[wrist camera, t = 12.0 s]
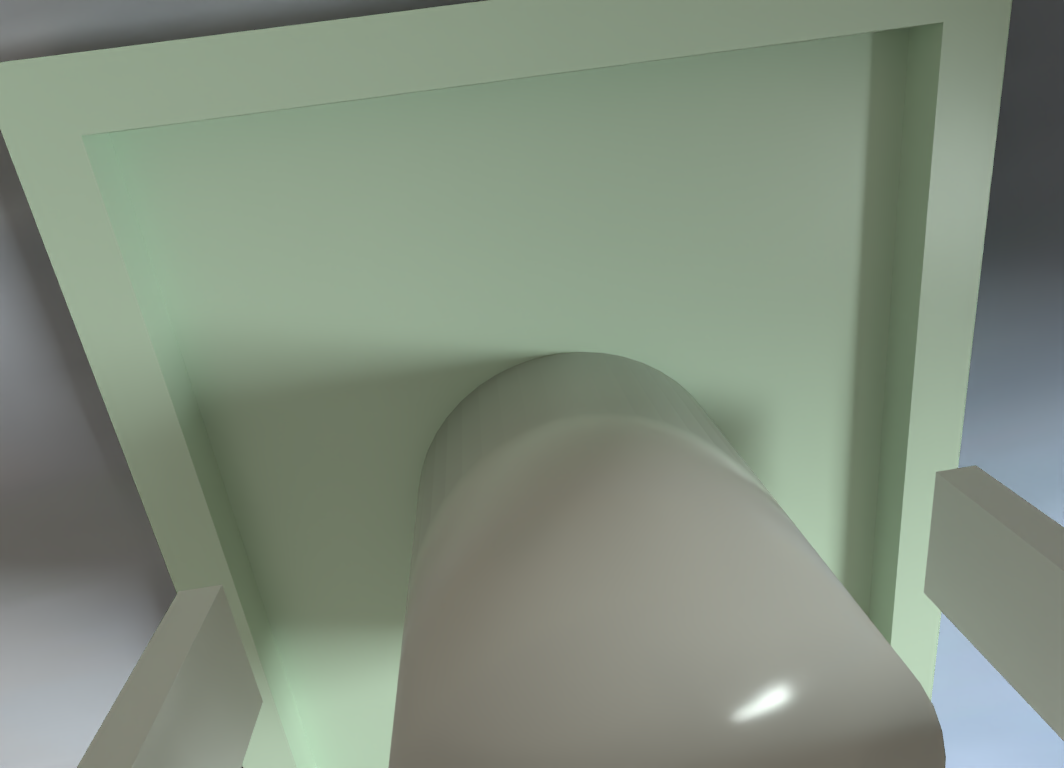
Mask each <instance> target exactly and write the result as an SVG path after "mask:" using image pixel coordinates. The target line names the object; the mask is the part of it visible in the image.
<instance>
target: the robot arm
mask: <svg viewBox="0 0 1064 768" xmlns="http://www.w3.org/2000/svg"><path fill="white" fill-rule="evenodd" d="M924 594H925V595H926V596H927V597H928V598H929V599H930V600H931V601H932V602H933V603H934V604H935V605H936V606H937V607H938V608H939V609H940V610H941V612H942V613H943V614H944V615H945V616H946V617H947V618H948V619H949V620H950V621H951V622H952V623H953V624H954V625H955V626H956V627H957V629H958V630H959V631H960V632H961V633H962V634H963V635H964V636H965V637H966V638H967V639H968V640H969V641H970V642H971V643H972V644H973V645H974V647H975V648H976V649H977V650H978V651H979V652H980V653H981V654H982V655H983V656H984V657H985V658H986V659H987V660H988V661H989V662H990V663H991V665H992V666H993V667H994V668H995V669H996V670H997V671H998V672H999V673H1000V674H1001V675H1002V676H1003V677H1004V678H1005V679H1006V680H1007V682H1008V683H1009V684H1010V685H1011V686H1012V687H1013V688H1014V689H1015V690H1016V691H1017V692H1018V693H1019V694H1020V695H1021V696H1022V697H1023V698H1024V700H1025V701H1026V702H1027V703H1028V704H1029V705H1030V706H1031V707H1032V708H1033V709H1034V710H1035V711H1036V712H1037V713H1038V714H1039V715H1040V716H1041V718H1042V719H1043V720H1044V721H1045V722H1046V723H1047V724H1048V725H1049V726H1050V727H1051V728H1052V729H1053V730H1054V731H1055V732H1056V733H1057V735H1058V736H1059V737H1060V738H1061V739H1062V740H1063V741H1064V527H1062V526H1061V525H1060V524H1058V523H1057V522H1055V521H1054V520H1053V519H1051V518H1050V517H1048V516H1047V515H1045V514H1044V513H1043V512H1041V511H1040V510H1038V509H1037V508H1036V507H1034V506H1033V505H1031V504H1030V503H1028V502H1027V501H1026V500H1024V499H1023V498H1021V497H1020V496H1019V495H1017V494H1016V493H1014V492H1013V491H1011V490H1010V489H1009V488H1007V487H1006V486H1004V485H1003V484H1002V483H1000V482H999V481H997V480H996V479H994V478H993V477H992V476H990V475H989V474H987V473H986V472H985V471H983V470H982V469H980V468H979V467H977V466H969V467H963V468H957V469H950V470H944V471H938V472H936V477H935V487H934V497H933V506H932V516H931V526H930V535H929V545H928V555H927V564H926V574H925V584H924ZM262 703H263V700H262V697H261V695H260V692H259V689H258V686H257V683H256V680H255V677H254V675H253V672H252V669H251V666H250V663H249V660H248V657H247V654H246V652H245V649H244V646H243V643H242V640H241V637H240V634H239V632H238V629H237V626H236V623H235V620H234V617H233V614H232V612H231V609H230V606H229V603H228V600H227V597H226V594H225V592H224V589H223V586H222V585H216V586H209V587H203V588H197V589H190V590H184V591H178V593H177V595H176V597H175V598H174V600H173V602H172V604H171V605H170V607H169V609H168V610H167V612H166V614H165V616H164V617H163V619H162V621H161V623H160V624H159V626H158V628H157V630H156V631H155V633H154V635H153V636H152V638H151V640H150V642H149V643H148V645H147V647H146V649H145V650H144V652H143V654H142V656H141V657H140V659H139V661H138V662H137V664H136V666H135V668H134V669H133V671H132V673H131V675H130V676H129V678H128V680H127V682H126V683H125V685H124V687H123V688H122V690H121V692H120V694H119V695H118V697H117V699H116V701H115V702H114V704H113V706H112V708H111V709H110V711H109V713H108V714H107V716H106V718H105V720H104V721H103V723H102V725H101V727H100V728H99V730H98V732H97V734H96V735H95V737H94V739H93V741H92V742H91V744H90V746H89V747H88V749H87V751H86V753H85V754H84V756H83V758H82V760H81V761H80V763H79V765H78V767H77V768H241V766H242V763H243V760H244V757H245V754H246V751H247V748H248V745H249V742H250V739H251V736H252V733H253V730H254V727H255V724H256V721H257V718H258V715H259V712H260V709H261V706H262Z"/></svg>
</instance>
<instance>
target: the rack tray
mask: <svg viewBox="0 0 1064 768" xmlns="http://www.w3.org/2000/svg"><path fill="white" fill-rule="evenodd" d="M1011 7H1012V0H486V1H478V2H471V3H463V4H455V5H447V6H439V7H431V8H423V9H415V10H408V11H400V12H392V13H384V14H376V15H368V16H360V17H352V18H345V19H337V20H329V21H321V22H313V23H305V24H297V25H289V26H282V27H274V28H266V29H258V30H250V31H242V32H234V33H226V34H219V35H211V36H203V37H195V38H187V39H179V40H171V41H163V42H156V43H148V44H140V45H132V46H124V47H116V48H108V49H100V50H93V51H85V52H77V53H69V54H61V55H53V56H45V57H37V58H30V59H22V60H14V61H6V62H0V130H1V133H2V135H3V138H4V141H5V143H6V146H7V148H8V151H9V154H10V156H11V159H12V162H13V164H14V167H15V169H16V172H17V175H18V177H19V180H20V183H21V185H22V188H23V190H24V193H25V196H26V198H27V201H28V204H29V206H30V209H31V212H32V214H33V217H34V219H35V222H36V225H37V227H38V230H39V233H40V235H41V238H42V240H43V243H44V246H45V248H46V251H47V254H48V256H49V259H50V261H51V264H52V267H53V269H54V272H55V275H56V277H57V280H58V282H59V285H60V288H61V290H62V293H63V296H64V298H65V301H66V303H67V306H68V309H69V311H70V314H71V317H72V319H73V322H74V324H75V327H76V330H77V332H78V335H79V338H80V340H81V343H82V346H83V348H84V351H85V353H86V356H87V359H88V361H89V364H90V367H91V369H92V372H93V374H94V377H95V380H96V382H97V385H98V388H99V390H100V393H101V395H102V398H103V401H104V403H105V406H106V409H107V411H108V414H109V416H110V419H111V422H112V424H113V427H114V430H115V432H116V435H117V437H118V440H119V443H120V445H121V448H122V451H123V453H124V456H125V458H126V461H127V464H128V466H129V469H130V472H131V474H132V477H133V480H134V482H135V485H136V487H137V490H138V493H139V495H140V498H141V501H142V503H143V506H144V508H145V511H146V514H147V516H148V519H149V522H150V524H151V527H152V529H153V532H154V535H155V537H156V540H157V543H158V545H159V548H160V550H161V553H162V556H163V558H164V561H165V564H166V566H167V569H168V571H169V574H170V577H171V579H172V582H173V585H174V587H175V590H176V592H177V593H178V591H184V590H190V589H197V588H203V587H209V586H216V585H222V586H223V589H224V592H225V594H226V597H227V600H228V603H229V606H230V609H231V612H232V614H233V617H234V620H235V623H236V626H237V629H238V632H239V634H240V637H241V640H242V643H243V646H244V649H245V652H246V654H247V657H248V660H249V663H250V666H251V669H252V672H253V675H254V677H255V680H256V683H257V686H258V689H259V692H260V695H261V697H262V700H263V703H262V706H261V709H260V712H259V715H258V718H257V721H256V724H255V727H254V730H253V733H252V736H251V739H250V742H249V745H248V748H247V751H246V754H245V757H244V760H243V763H242V766H243V768H388V767H389V757H390V748H391V739H392V730H393V720H394V711H395V702H396V693H397V684H398V674H399V665H400V656H401V647H402V638H403V628H404V619H405V610H406V601H407V592H408V582H409V573H410V564H411V555H412V545H413V536H414V527H415V518H416V509H417V499H418V490H419V483H420V477H421V471H422V467H423V464H424V460H425V457H426V454H427V451H428V449H429V447H430V445H431V443H432V441H433V439H434V437H435V435H436V433H437V431H438V430H439V428H440V427H441V425H442V424H443V422H444V421H445V419H446V418H447V416H448V415H449V414H450V413H451V412H452V411H453V410H454V409H455V407H456V406H457V405H458V404H459V403H460V402H461V401H462V400H463V399H464V398H465V397H466V396H468V395H469V394H470V393H471V392H472V391H473V390H475V389H476V388H477V387H478V386H480V385H481V384H483V383H484V382H486V381H487V380H489V379H490V378H492V377H493V376H495V375H497V374H499V373H501V372H503V371H505V370H507V369H509V368H511V367H513V366H515V365H518V364H521V363H524V362H527V361H530V360H532V359H535V358H539V357H544V356H549V355H554V354H559V353H571V352H597V353H606V354H612V355H618V356H623V357H626V358H629V359H633V360H636V361H639V362H642V363H644V364H646V365H649V366H651V367H653V368H655V369H657V370H659V371H661V372H663V373H664V374H666V375H667V376H669V377H670V378H672V379H673V380H675V381H677V382H678V383H679V384H680V385H681V386H682V387H683V388H685V389H686V390H687V391H688V392H689V393H690V394H691V395H692V396H693V397H694V398H695V400H696V401H697V402H698V403H699V404H700V405H701V407H702V408H703V409H704V410H705V412H706V413H707V414H708V415H709V417H710V418H711V419H712V420H713V422H714V423H715V424H716V425H717V427H718V428H719V429H720V430H721V432H722V433H723V434H724V436H725V437H726V438H727V439H728V441H729V442H730V443H731V444H732V446H733V447H734V448H735V449H736V451H737V452H738V453H739V455H740V456H741V457H742V458H743V460H744V461H745V462H746V463H747V465H748V466H749V467H750V468H751V470H752V471H753V472H754V473H755V475H756V476H757V477H758V479H759V480H760V481H761V482H762V484H763V485H764V486H765V487H766V489H767V490H768V491H769V492H770V494H771V495H772V496H773V497H774V499H775V500H776V501H777V503H778V504H779V505H780V506H781V508H782V509H783V510H784V511H785V513H786V514H787V515H788V516H789V518H790V519H791V520H792V521H793V523H794V524H795V525H796V527H797V528H798V529H799V530H800V532H801V533H802V534H803V535H804V537H805V538H806V539H807V540H808V542H809V543H810V544H811V545H812V547H813V548H814V549H815V551H816V552H817V553H818V554H819V556H820V557H821V558H822V559H823V561H824V562H825V563H826V564H827V566H828V567H829V568H830V569H831V571H832V572H833V573H834V575H835V576H836V577H837V578H838V580H839V581H840V582H841V583H842V585H843V586H844V587H845V588H846V590H847V591H848V592H849V594H850V595H851V596H852V597H853V599H854V600H855V601H856V602H857V604H858V605H859V606H860V607H861V609H862V610H863V611H864V612H865V614H866V615H867V616H868V618H869V619H870V620H871V621H872V623H873V624H874V625H875V626H876V628H877V629H878V630H879V631H880V633H881V634H882V635H883V636H884V638H885V639H886V640H887V642H888V643H889V644H890V645H891V647H892V648H893V649H894V650H895V652H896V653H897V654H898V655H899V657H900V658H901V659H902V660H903V662H904V663H905V664H906V666H907V667H908V668H909V669H910V671H911V672H912V673H913V674H914V676H915V677H916V678H917V679H918V681H919V682H920V684H921V685H922V687H923V689H924V690H925V692H926V694H927V696H928V697H929V699H930V701H931V697H932V688H933V679H934V671H935V662H936V653H937V645H938V636H939V628H940V619H941V610H940V609H939V608H938V607H937V606H936V605H935V604H934V603H933V602H932V601H931V600H930V599H929V598H928V597H927V596H926V595H925V594H924V584H925V574H926V564H927V555H928V545H929V535H930V526H931V516H932V506H933V497H934V487H935V477H936V472H938V471H944V470H950V469H957V468H958V464H959V455H960V447H961V438H962V429H963V421H964V412H965V404H966V395H967V386H968V378H969V369H970V360H971V352H972V343H973V335H974V326H975V317H976V309H977V300H978V292H979V283H980V274H981V266H982V257H983V248H984V240H985V231H986V223H987V214H988V205H989V197H990V188H991V179H992V171H993V162H994V154H995V145H996V136H997V128H998V119H999V111H1000V102H1001V93H1002V85H1003V76H1004V67H1005V59H1006V50H1007V42H1008V33H1009V24H1010V16H1011Z"/></svg>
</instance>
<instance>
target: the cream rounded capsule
mask: <svg viewBox="0 0 1064 768" xmlns="http://www.w3.org/2000/svg"><path fill="white" fill-rule="evenodd" d="M945 760H946V756H945V748H944V741H943V734H942V729H941V726H940V724H939V721H938V718H937V715H936V712H935V709H934V706H933V704H932V703H931V701H930V699H929V697H928V696H927V694H926V692H925V690H924V689H923V687H922V685H921V684H920V682H919V681H918V679H917V678H916V677H915V676H914V674H913V673H912V672H911V671H910V669H909V668H908V667H907V666H906V664H905V663H904V662H903V660H902V659H901V658H900V657H899V655H898V654H897V653H896V652H895V650H894V649H893V648H892V647H891V645H890V644H889V643H888V642H887V640H886V639H885V638H884V636H883V635H882V634H881V633H880V631H879V630H878V629H877V628H876V626H875V625H874V624H873V623H872V621H871V620H870V619H869V618H868V616H867V615H866V614H865V612H864V611H863V610H862V609H861V607H860V606H859V605H858V604H857V602H856V601H855V600H854V599H853V597H852V596H851V595H850V594H849V592H848V591H847V590H846V588H845V587H844V586H843V585H842V583H841V582H840V581H839V580H838V578H837V577H836V576H835V575H834V573H833V572H832V571H831V569H830V568H829V567H828V566H827V564H826V563H825V562H824V561H823V559H822V558H821V557H820V556H819V554H818V553H817V552H816V551H815V549H814V548H813V547H812V545H811V544H810V543H809V542H808V540H807V539H806V538H805V537H804V535H803V534H802V533H801V532H800V530H799V529H798V528H797V527H796V525H795V524H794V523H793V521H792V520H791V519H790V518H789V516H788V515H787V514H786V513H785V511H784V510H783V509H782V508H781V506H780V505H779V504H778V503H777V501H776V500H775V499H774V497H773V496H772V495H771V494H770V492H769V491H768V490H767V489H766V487H765V486H764V485H763V484H762V482H761V481H760V480H759V479H758V477H757V476H756V475H755V473H754V472H753V471H752V470H751V468H750V467H749V466H748V465H747V463H746V462H745V461H744V460H743V458H742V457H741V456H740V455H739V453H738V452H737V451H736V449H735V448H734V447H733V446H732V444H731V443H730V442H729V441H728V439H727V438H726V437H725V436H724V434H723V433H722V432H721V430H720V429H719V428H718V427H717V425H716V424H715V423H714V422H713V420H712V419H711V418H710V417H709V415H708V414H707V413H706V412H705V410H704V409H703V408H702V407H701V405H700V404H699V403H698V402H697V401H696V400H695V398H694V397H693V396H692V395H691V394H690V393H689V392H688V391H687V390H686V389H685V388H683V387H682V386H681V385H680V384H679V383H678V382H677V381H675V380H673V379H672V378H670V377H669V376H667V375H666V374H664V373H663V372H661V371H659V370H657V369H655V368H653V367H651V366H649V365H646V364H644V363H642V362H639V361H636V360H633V359H629V358H626V357H623V356H618V355H612V354H606V353H597V352H571V353H559V354H554V355H549V356H544V357H539V358H535V359H532V360H530V361H527V362H524V363H521V364H518V365H515V366H513V367H511V368H509V369H507V370H505V371H503V372H501V373H499V374H497V375H495V376H493V377H492V378H490V379H489V380H487V381H486V382H484V383H483V384H481V385H480V386H478V387H477V388H476V389H475V390H473V391H472V392H471V393H470V394H469V395H468V396H466V397H465V398H464V399H463V400H462V401H461V402H460V403H459V404H458V405H457V406H456V407H455V409H454V410H453V411H452V412H451V413H450V414H449V415H448V416H447V418H446V419H445V421H444V422H443V424H442V425H441V427H440V428H439V430H438V431H437V433H436V435H435V437H434V439H433V441H432V443H431V445H430V447H429V449H428V451H427V454H426V457H425V460H424V464H423V467H422V471H421V477H420V483H419V490H418V499H417V509H416V518H415V527H414V536H413V545H412V555H411V564H410V573H409V582H408V592H407V601H406V610H405V619H404V628H403V638H402V647H401V656H400V665H399V674H398V684H397V693H396V702H395V711H394V720H393V730H392V739H391V748H390V757H389V767H388V768H945Z"/></svg>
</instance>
